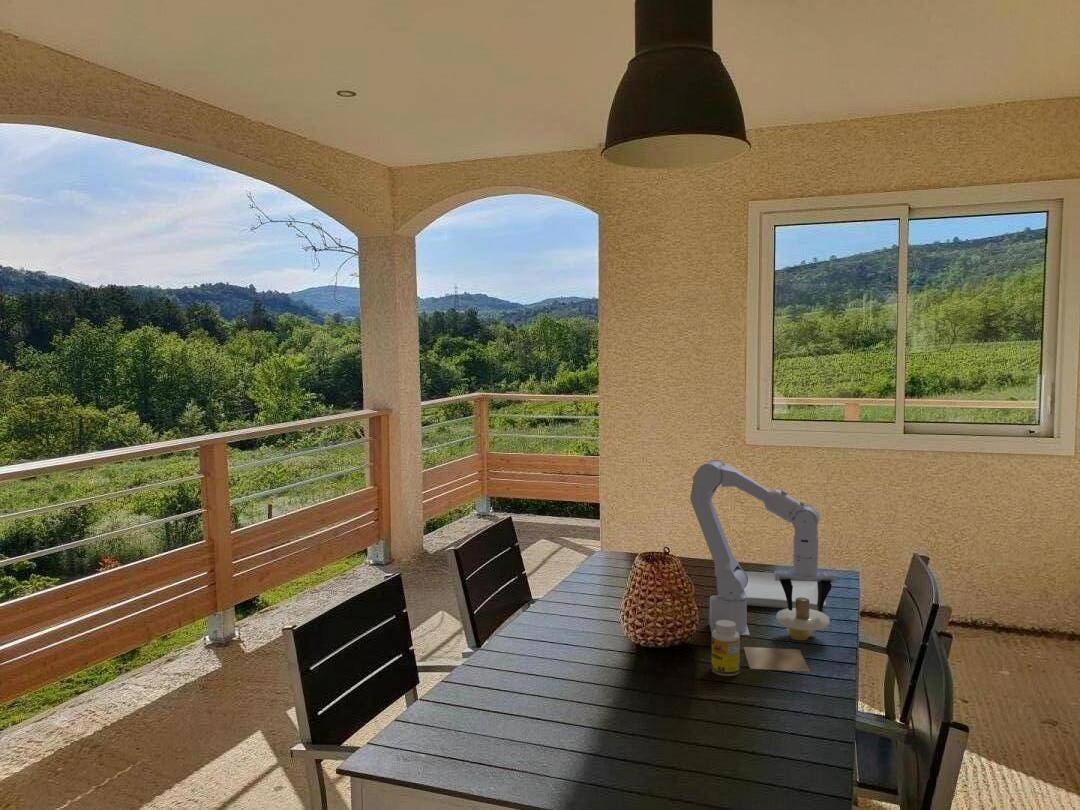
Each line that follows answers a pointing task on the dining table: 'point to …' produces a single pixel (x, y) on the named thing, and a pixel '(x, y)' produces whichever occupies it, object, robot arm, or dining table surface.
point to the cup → (799, 634)
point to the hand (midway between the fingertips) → (804, 609)
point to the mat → (775, 659)
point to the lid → (802, 617)
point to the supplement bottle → (725, 648)
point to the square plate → (778, 591)
